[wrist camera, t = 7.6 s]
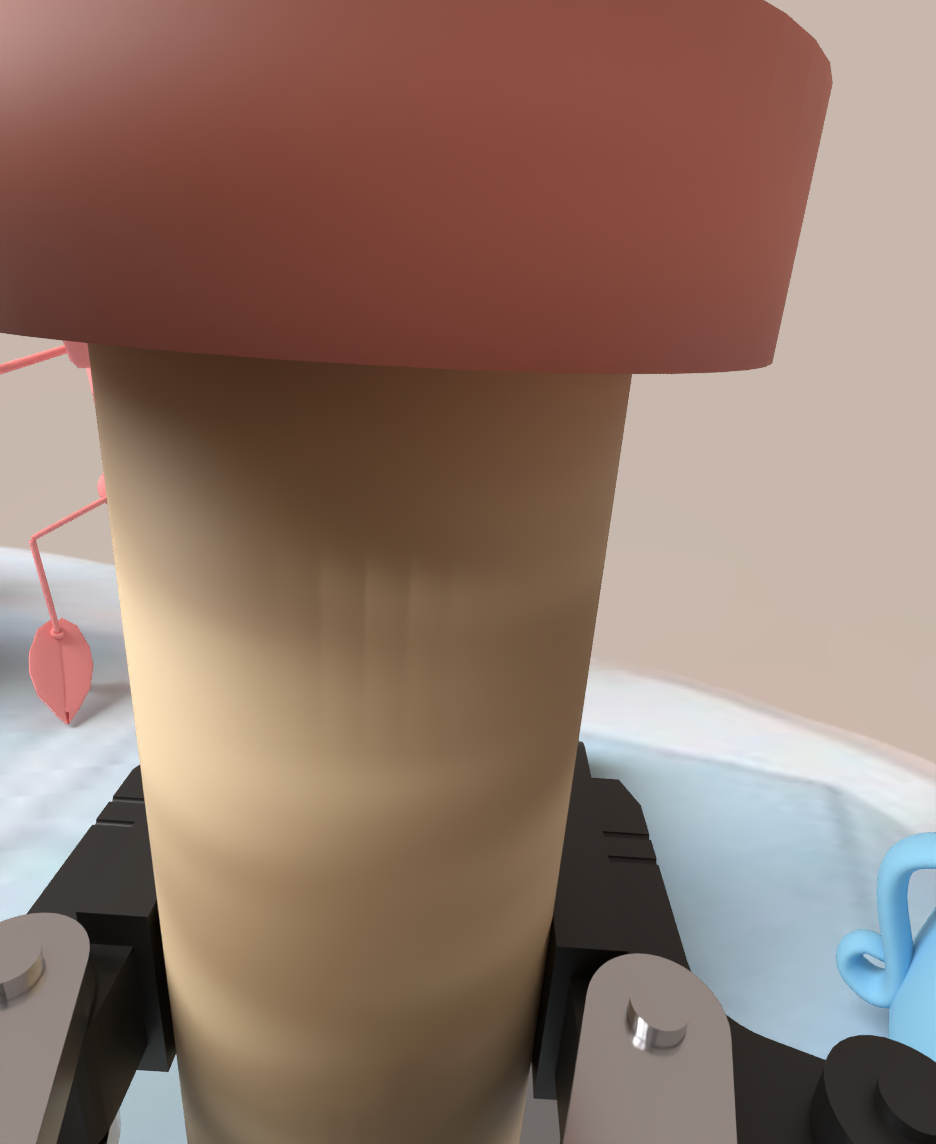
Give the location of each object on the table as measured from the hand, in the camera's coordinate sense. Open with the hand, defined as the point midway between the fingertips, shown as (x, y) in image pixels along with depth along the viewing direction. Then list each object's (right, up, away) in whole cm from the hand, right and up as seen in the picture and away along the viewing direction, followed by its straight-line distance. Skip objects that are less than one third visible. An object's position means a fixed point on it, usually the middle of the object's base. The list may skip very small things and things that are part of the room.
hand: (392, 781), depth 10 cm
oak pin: (-1, -10, +1) cm, 10 cm away
